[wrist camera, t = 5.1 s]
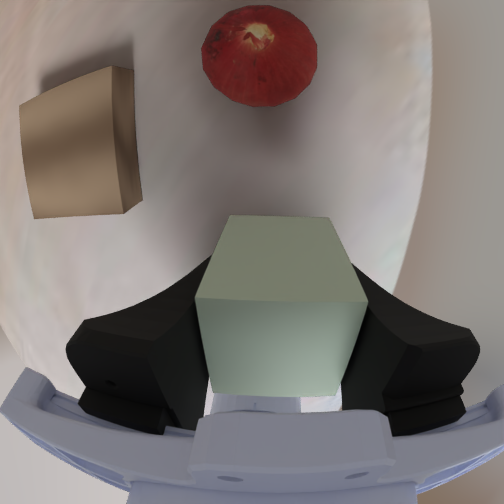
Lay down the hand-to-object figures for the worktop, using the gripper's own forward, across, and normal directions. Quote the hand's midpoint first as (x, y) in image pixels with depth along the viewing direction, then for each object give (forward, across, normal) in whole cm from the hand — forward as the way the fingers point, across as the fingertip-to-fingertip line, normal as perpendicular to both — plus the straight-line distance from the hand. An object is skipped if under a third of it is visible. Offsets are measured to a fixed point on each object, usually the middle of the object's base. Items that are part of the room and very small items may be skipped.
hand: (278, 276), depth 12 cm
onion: (+8, +1, -10) cm, 13 cm away
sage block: (+1, 0, 0) cm, 1 cm away
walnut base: (+8, +15, -6) cm, 18 cm away
